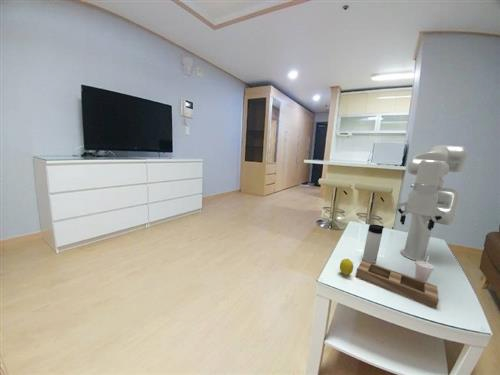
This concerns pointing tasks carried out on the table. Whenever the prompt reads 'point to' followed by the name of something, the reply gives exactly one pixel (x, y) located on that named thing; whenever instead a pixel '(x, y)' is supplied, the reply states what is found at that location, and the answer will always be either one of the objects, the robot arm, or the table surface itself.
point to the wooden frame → (399, 283)
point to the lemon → (346, 266)
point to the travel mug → (372, 243)
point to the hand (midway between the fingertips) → (415, 226)
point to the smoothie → (423, 270)
